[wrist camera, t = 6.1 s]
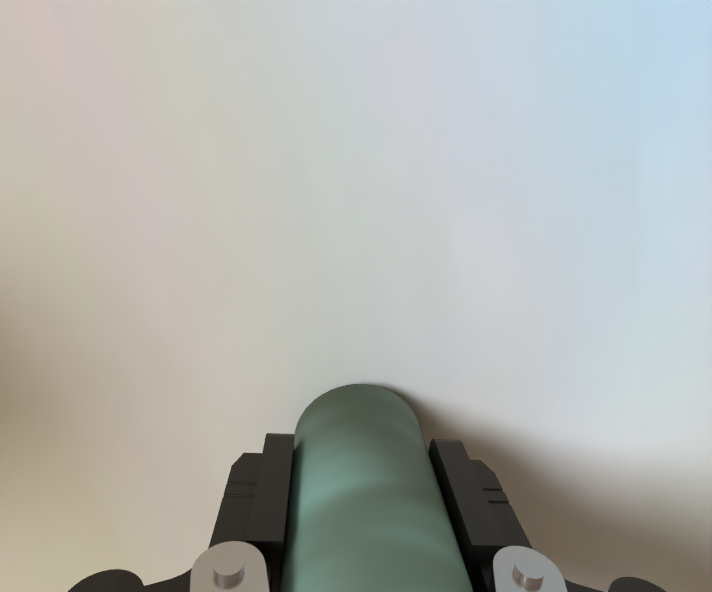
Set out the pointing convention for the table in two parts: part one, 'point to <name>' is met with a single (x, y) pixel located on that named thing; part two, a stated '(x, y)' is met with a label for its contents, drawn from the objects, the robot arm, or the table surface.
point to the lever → (366, 501)
